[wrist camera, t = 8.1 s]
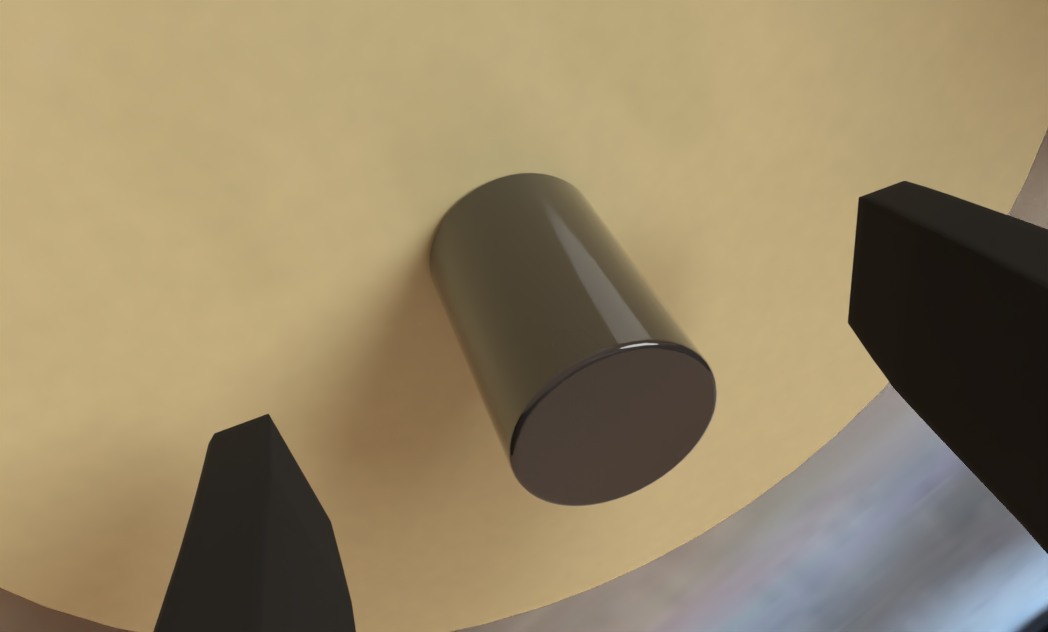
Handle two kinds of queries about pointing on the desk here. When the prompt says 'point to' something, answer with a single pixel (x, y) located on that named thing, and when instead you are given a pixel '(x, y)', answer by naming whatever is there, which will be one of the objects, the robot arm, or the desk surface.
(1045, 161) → the desk surface
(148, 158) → the pot lid
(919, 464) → the desk surface
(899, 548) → the desk surface
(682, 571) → the desk surface
